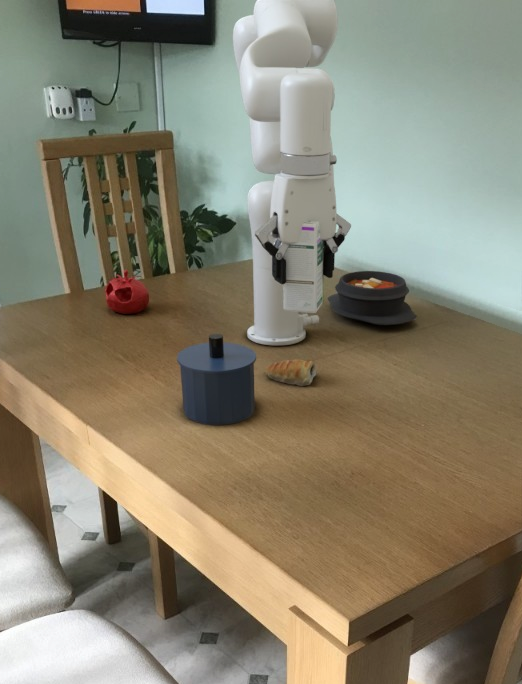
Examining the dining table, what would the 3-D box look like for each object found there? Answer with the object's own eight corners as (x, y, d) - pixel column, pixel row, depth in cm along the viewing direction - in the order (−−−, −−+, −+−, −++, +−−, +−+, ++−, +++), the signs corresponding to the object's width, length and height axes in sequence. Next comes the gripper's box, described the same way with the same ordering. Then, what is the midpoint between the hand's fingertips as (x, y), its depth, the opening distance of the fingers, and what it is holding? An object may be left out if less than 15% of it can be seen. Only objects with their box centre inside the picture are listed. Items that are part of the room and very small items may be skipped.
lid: (238, 343, 147) (237, 318, 144) (269, 369, 137) (268, 343, 134) (166, 354, 141) (164, 329, 139) (193, 382, 131) (191, 355, 129)
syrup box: (316, 313, 134) (318, 223, 126) (281, 310, 135) (281, 220, 127) (323, 303, 139) (325, 214, 131) (289, 300, 140) (290, 212, 132)
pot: (238, 390, 151) (236, 341, 146) (265, 417, 142) (265, 365, 136) (174, 402, 146) (170, 351, 141) (198, 430, 137) (195, 377, 132)
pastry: (262, 382, 154) (261, 363, 152) (271, 369, 160) (271, 351, 158) (310, 387, 153) (310, 368, 151) (317, 374, 159) (318, 355, 157)
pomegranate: (129, 300, 195) (125, 261, 190) (159, 309, 190) (155, 269, 185) (97, 310, 188) (92, 270, 183) (127, 319, 183) (122, 278, 178)
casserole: (435, 325, 185) (438, 288, 180) (366, 338, 176) (368, 300, 172) (373, 295, 203) (375, 261, 198) (309, 306, 195) (309, 270, 190)
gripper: (342, 157, 131) (338, 267, 141) (243, 164, 124) (245, 278, 133) (366, 165, 126) (360, 278, 135) (263, 173, 118) (264, 291, 128)
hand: (303, 278), depth 134 cm, fingers closed on syrup box, 8 cm apart
